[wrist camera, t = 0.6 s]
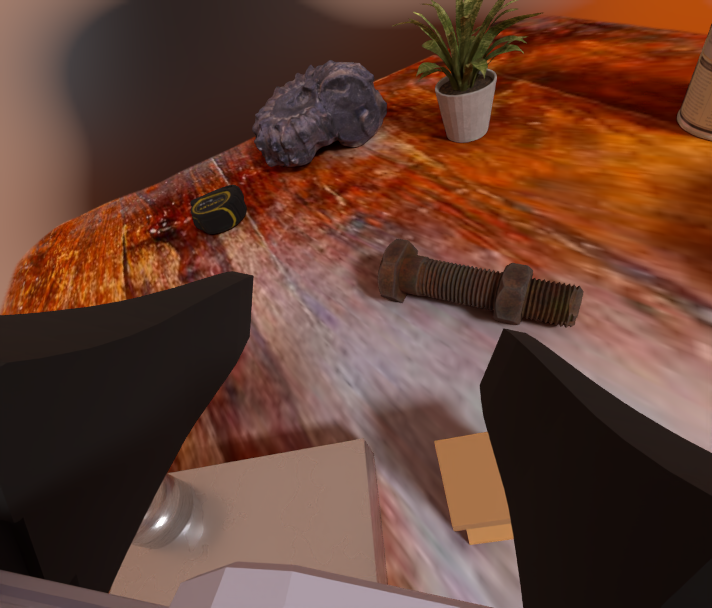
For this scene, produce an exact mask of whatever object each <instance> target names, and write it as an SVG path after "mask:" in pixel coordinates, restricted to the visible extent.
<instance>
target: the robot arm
mask: <svg viewBox="0 0 712 608" xmlns="http://www.w3.org/2000/svg"><path fill="white" fill-rule="evenodd" d="M252 292H253V276H252V275H248V274H243V273H238V272H233V271H232V272H226V273H221V274H218V275H214V276H211V277H208V278H204V279H201V280H198V281H195V282H191V283H188V284H185V285H182V286H178V287H175V288H171V289H168V290H164V291H160V292H156V293H153V294H149V295H145V296H141V297H137V298H133V299H128V300H124V301H119V302H113V303H108V304H102V305H97V306H90V307H83V308H75V309H66V310H58V311H49V312H41V313H29V314H15V315H0V608H492V607H487V606H483V605H478V604H474V603H469V602H464V601H460V600H455V599H450V598H446V597H441V596H437V595H432V594H427V593H423V592H418V591H413V590H409V589H404V588H400V587H395V586H390V585H386V584H381V583H376V582H372V581H367V580H363V579H358V578H353V577H349V576H344V575H339V574H335V573H330V572H326V571H321V570H316V569H312V568H307V567H302V566H298V565H290V564H274V563H257V562H240V561H237V562H234V563H231V564H228V565H225V566H223V567H220V568H217V569H214V570H211V571H208V572H205V573H203V574H200V575H197V576H195V577H193V578H191V579H188V580H186V581H184V582H182V583H181V584H180V586H179V588H178V590H177V592H176V594H175V596H174V598H173V600H172V602H171V604H170V606H169V607H168V606H164V605H159V604H155V603H150V602H145V601H141V600H136V599H132V598H127V597H122V596H118V595H113V594H109V591H110V588H111V586H112V584H113V582H114V580H115V578H116V575H117V573H118V571H119V569H120V567H121V565H122V562H123V560H124V558H125V556H126V554H127V552H128V550H129V548H130V546H131V543H132V541H133V539H134V537H135V535H136V533H137V531H138V529H139V527H140V525H141V523H142V521H143V519H144V517H145V515H146V513H147V511H148V509H149V507H150V505H151V503H152V501H153V499H154V497H155V495H156V493H157V491H158V489H159V487H160V485H161V483H162V481H163V480H164V478H165V476H166V474H167V472H168V470H169V468H170V466H171V464H172V463H173V461H174V459H175V457H176V455H177V453H178V452H179V450H180V448H181V446H182V444H183V442H184V441H185V439H186V437H187V435H188V434H189V432H190V431H191V429H192V427H193V426H194V424H195V423H196V421H197V420H198V418H199V417H200V416H201V414H202V413H203V411H204V410H205V408H206V407H207V405H208V404H209V403H210V401H211V400H212V398H213V397H214V395H215V394H216V393H217V391H218V390H219V388H220V387H221V385H222V384H223V383H224V381H225V380H226V378H227V377H228V375H229V374H230V372H231V371H232V369H233V368H234V366H235V365H236V363H237V361H238V359H239V357H240V355H241V353H242V352H243V349H244V347H245V345H246V343H247V341H248V339H249V337H250V322H251V307H252ZM480 393H481V403H482V410H483V416H484V420H485V424H486V428H487V431H488V435H489V439H490V442H491V446H492V449H493V453H494V456H495V459H496V463H497V466H498V470H499V473H500V477H501V480H502V484H503V487H504V491H505V495H506V500H507V504H508V508H509V514H510V520H511V526H512V532H513V537H514V543H515V550H516V557H517V564H518V571H519V578H520V585H521V593H522V601H523V608H712V453H711V452H709V451H707V450H705V449H703V448H701V447H699V446H697V445H695V444H693V443H691V442H689V441H688V440H686V439H684V438H682V437H680V436H679V435H677V434H675V433H673V432H671V431H670V430H668V429H666V428H664V427H663V426H661V425H659V424H658V423H656V422H654V421H653V420H651V419H649V418H648V417H646V416H644V415H643V414H641V413H639V412H638V411H636V410H635V409H633V408H632V407H630V406H628V405H627V404H625V403H624V402H622V401H621V400H619V399H618V398H616V397H615V396H614V395H612V394H611V393H609V392H608V391H606V390H605V389H603V388H602V387H600V386H599V385H598V384H596V383H595V382H593V381H592V380H591V379H589V378H588V377H587V376H585V375H584V374H582V373H581V372H580V371H578V370H577V369H576V368H574V367H573V366H572V365H570V364H569V363H568V362H566V361H565V360H564V359H562V358H561V357H560V356H558V355H557V354H556V353H554V352H553V351H552V350H550V349H549V348H548V347H546V346H545V345H544V344H542V343H541V342H539V341H538V340H536V339H535V338H533V337H532V336H530V335H528V334H526V333H523V332H518V331H513V330H509V329H503V331H502V334H501V336H500V338H499V341H498V343H497V345H496V348H495V350H494V353H493V355H492V357H491V360H490V362H489V364H488V367H487V369H486V371H485V374H484V376H483V379H482V381H481V383H480Z"/></svg>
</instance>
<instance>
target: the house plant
mask: <svg viewBox="0 0 712 608" xmlns="http://www.w3.org/2000/svg"><path fill="white" fill-rule="evenodd" d="M431 1H432V0H431ZM504 1H505V0H498V1H497V2H496V4H495V5H494V7H493V8H492V9H491V11H490V12H489V14H488V15H487V17H486V19H485V20H484V22H483V24H482V26H480V27H478V28H477V29H475V30H474V31H473V32H472V29H473V26H474V22H475V19H476V17H477V14H478V12H479V9H480V7H481V4H482V2H483V0H464V3H463V0H456V31H457V37H458V43H459V46H458V45H457V40H456V36H455V33H454V30H453V27H452V23H451V20H450V19H449V17H448V15H447V14H446V12H445V11H444V9H443V8H442V7H441V6H440V5H439V4H437V3H436V2H434V1H432V3H433V5H431V4H426V5H431V6H433V7H435V9H436V10H437V14H438V17H439V19H440V21H441V23H442V24H443V27H444V29H445V32H446V36H447V40H448V43H449V47H450V50H451V56H452V58H451V56H450V54H449V52H448V50H447V48H446V46H445V43H444V42H443V40H442V38H441V36H440V34H439V32H438V31H437V29H436V28H435V27H434V26H433V25H432V24H431V23H430V22H429V21H428V20H427V19H426V18H425V17H424V16H423V15H422V14H419V13H416V14H417V15H419V16H421V17H422V18H424V20H425V21H426V22H427V23H428V24H429V25H430V26H431V27H432V28H433V29H434V30H435V31H436V33H437V34H438V36H439V38H440V40H441V41H440V40H439V38H438V37H437V35H436V34H435V33H434V32H433V31H432V30H431V29H429V28H428V27H427V26H425V25H423V24H421V23H420V22H418V21H416V20H412V19H410V20H411V21H412V22H405V23H414V24H416V25H418V26H419V27H420V28H421V29H422V30H423V31H424V32H425V33H426V34H427V35H429V36H430V37H431V38H432V39H433V40H431V41H427V42H425V43H424V44H423V45H422V46H423V47H424V48H426V49H428V50H430V51H432V52H434V53H436V54H437V55H438V56H439V57H440V58H441V59H442V60H443V61H444V63H445V64H446V66H447V67H448V68H449V70H450V71H451V73H450V72H449V71H448V70H447V69H446V68H444V67H440V66H437V65H436V64H433V63H422V64H421V65H420V66H419V68H418V72H417V75H418V74H419V73H423V72H424V73H423V74H422V76H421V77H420V79H421V78H423V77H425V76H427V75H429V74H431V73H433V72H436V71H442V70H443V71H442V72H444V73H445V74H446V77H444V78H442V79H441V80H440V81H439V82H438V83H437V84H436V86H435V92H436V96H437V99H438V103H439V107H440V111H441V115H442V119H443V123H444V127H445V131H446V134H447V137H448V139H450V140H451V141H454V142H470V141H473V140H476V139H479V138H481V137H482V136H484V135H485V134H486V133H487V130H488V126H489V120H490V114H491V108H492V102H493V97H494V91H495V85H496V79H497V76H496V73H495V72H494V71H492V70H490V69H487V67H488V66H487V65H488V64H489V63H490V62H491V61H490V62H489V63H488V64H487V60H488V59H489V58H491V57H493V58H494V57H495V56H496V55H498V54H501V53H505V52H509V51H514V50H517V51H522V50H521V49H520V48H519V47H518V46H516V45H507V44H509V43H510V42H512V41H514V40H520V41H523V42H525V41H524V40H523V39H522V38H525V37H528V36H525V37H518V36H507V37H504V38H501V39H499V40H498V41H496V42H495V43H493V45H492V46H491V47H490V48H489V49H488V47H489V45H490V44H491V42H492V41H493V39H494V37H495V36H497V35H498V34H499V33H500V32H501V31H502V30H504V29H506V28H507V27H509V26H511V25H513V24H515V23H517V22H519V21H521V20H523V19H525V18H529V17H533V16H537V15H539V14H541V13H537V14H529V15H523V16H518V17H514V18H511V19H508V20H505V21H503V22H501V23H499V24H497V25H495V26H494V27H492V28H491V27H490V28H489V30H488V31H487V32H486V33H485V31H486V30H487V28H488V26H489V24H490V22H491V21H492V19H493V18H494V16H495V15H496V13H497V12H498V11H499V10H500V9H502V8H504V7H505V6H507V5H508V4H510V3H512V2H515V1H517V0H513V1H511V2H509V3H508V4H506V5H504V6H503V7H502V8H501V6H502V5H503V3H504ZM514 10H517V9H509V10H505V11H504V12H502V13H501V14H500V15H499V16H498V17H497V18H496V19H495V20H494V22H495V21H496V20H497V19H498V18H499V17H500V16H501V15H503V14H504V13H506V12H509V11H514ZM414 13H415V12H414ZM494 22H493V23H494ZM493 23H492V24H493ZM399 24H403V23H399ZM396 25H398V24H396ZM491 26H492V25H491ZM480 28H481V29H480ZM478 29H480V31H479V33H478V34H477V36H476V38H475V36H472V37H471V35H472V34H473V33H474V32H476V31H477V30H478ZM484 33H485V34H484ZM505 41H509V42H508V43H507V44H505V45H504V46H503V47H500V48H498V49H496V50H495V51H493V52H492V53H490V54H489V55H488V56H487V57H486V55H487V54H488V53H489V52H490V51H491V50H492V49H493V48H494V47H495V46H497V45H498V44H500V43H501V42H505ZM525 43H526V42H525ZM487 49H488V50H487ZM486 50H487V51H486ZM522 52H523V51H522ZM482 57H483V58H482ZM485 57H486V58H485ZM493 58H492V59H493ZM437 67H440V68H441V69H442V70H439V69H433V68H437ZM417 75H416V76H417ZM420 79H419V80H420ZM418 82H419V81H418Z"/></svg>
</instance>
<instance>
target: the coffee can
mask: <svg viewBox="0 0 712 608" xmlns="http://www.w3.org/2000/svg"><path fill="white" fill-rule="evenodd" d="M677 121H678V123H679V125H680V126H681V128H683V129H684V130H685V131H687V132H688V133H690V134H692V135H694V136H696V137H699V138H703V139H707V140H710V141H712V24H711V27H710V30H709V33H708V36H707V38H706V41H705V44H704V46H703V49H702V52H701V55H700V57H699V60H698V63H697V65H696V68H695V71H694V73H693V75H692V79H691V82H690V84H689V87H688V89H687V92H686V95H685V98H684V100H683V103H682V106H681V109H680V110H679V112H678V114H677Z"/></svg>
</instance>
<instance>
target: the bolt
mask: <svg viewBox="0 0 712 608" xmlns="http://www.w3.org/2000/svg"><path fill="white" fill-rule="evenodd" d="M417 254H418V250H417V249H416V248H415V247H414V246H413V245H412V244H411V243H410V242H409V241H408V240H402V239H396V240H394V241H393V242H392V243H391V244H390V245H389V246H388V247H387V248H386V250H385V252H384V255H383V258H382V261H381V264H380V268H379V272H378V286H379V291H380V294H381V296H382V297H384V298H387V299H389V300H393V301H397V302H401V303H403V301H404V299H405V297H406V295H407V293H409V294H413V295H418V296H420V295H423V296H424V295H425V296H429V297H433V298H437V299H439V298H440V299H441V300H442V299H444V300H445V301H446V300H448V301H452V302H456V303H459V302H460V304H463V303H464V305H467V304H468V306H471V305H472V306H473V307H475V306H477V308H479V307H481V308H482V309H483V308H485V309H486V310H487V309H490V311H492V310H493V309H494V319H495V320H497V321H500V322H504V323H508V324H512V325H519V324H520V322H521V319H522V318H523V317H524V316H525V317H526V319H527V318H529V317H530V319H531V320H532V319H533V318H534V319H535V320H536V321H537V320H538V319H539V320H540V322H542V321H543V320H544V322H545V323H547V322H548V321H549V323H550V324H552V323H554V324H555V325H557V324H559V325H560V327H561V326H562V325H564V326H565V328H566V327H568V326H570V327H572V326H573V325H575V321H576V318H577V316H578V313H579V309H580V305H581V301H582V296H583V290H582V289H581V287H580V286H578V287H577V288H576V286H575V285H573V286H572V287H571V285H570V284H569V285H567V286H566V285H565V283H564V284H562V285H561V284H560V282H559V283H557V284H556V283H555V281H554V282H552V283H550V280H549V281H548V282H546V281H545V279H544V280H543V281H541V280H540V279H538V280H537V281H536V279H535V278H534V279H532V275H533V270H532V269H531V268H530V267H529V266H527V265H521V264H515V263H511V264H509V265H507V266H506V268H505V270H504V272H501V273H499V271H497V272H496V273H495V271H494V270H493V271H492V272H491V271H490V269H489V270H488V271H486V269H484V270H483V271H482V269H481V268H480V269H479V270H478V268H477V267H476V268H475V269H474V268H473V266H472V267H469V266H465V265H463V266H461V264H459V265H457V264H456V263H455V264H453V263H449V262H445V261H443V262H442V261H440V260H439V261H438V260H433V259H429V258H428V257H424V256H418V255H417Z"/></svg>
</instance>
